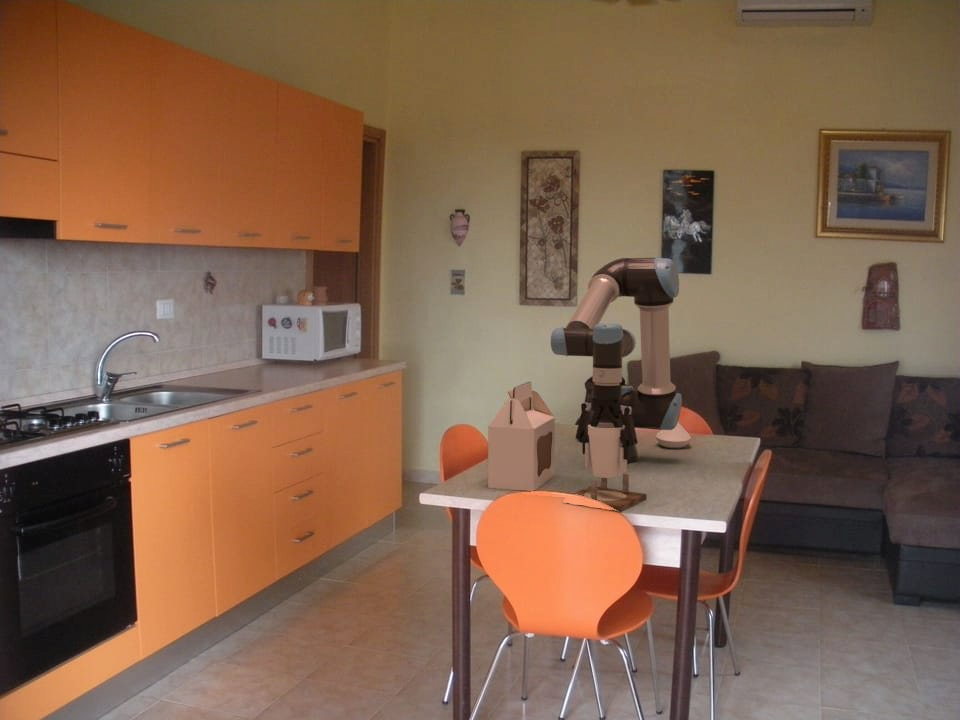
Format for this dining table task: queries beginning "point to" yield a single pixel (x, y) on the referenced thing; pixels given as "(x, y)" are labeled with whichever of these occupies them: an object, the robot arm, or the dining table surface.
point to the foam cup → (605, 449)
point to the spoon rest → (673, 437)
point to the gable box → (521, 442)
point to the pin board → (613, 494)
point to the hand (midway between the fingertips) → (605, 469)
